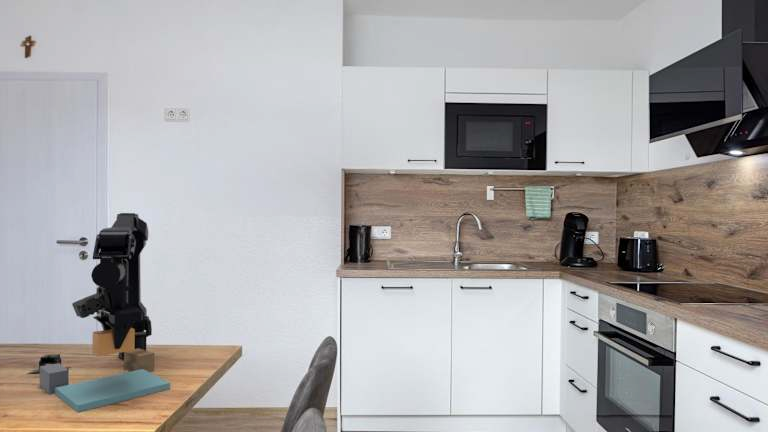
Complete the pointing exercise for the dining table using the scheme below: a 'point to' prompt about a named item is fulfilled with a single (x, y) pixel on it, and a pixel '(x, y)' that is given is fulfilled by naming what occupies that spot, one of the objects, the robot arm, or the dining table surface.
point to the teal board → (110, 389)
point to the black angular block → (48, 362)
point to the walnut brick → (139, 360)
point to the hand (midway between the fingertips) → (114, 347)
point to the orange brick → (111, 343)
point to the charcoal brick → (53, 377)
